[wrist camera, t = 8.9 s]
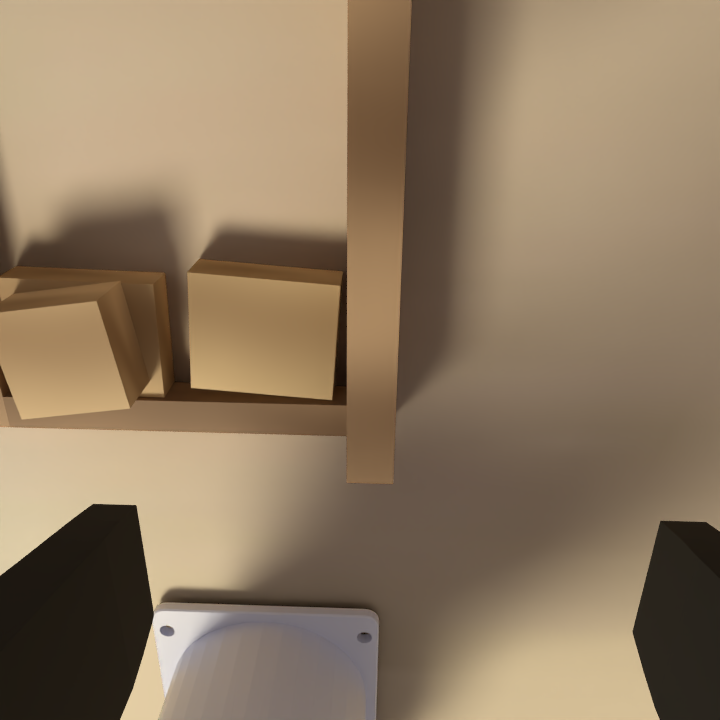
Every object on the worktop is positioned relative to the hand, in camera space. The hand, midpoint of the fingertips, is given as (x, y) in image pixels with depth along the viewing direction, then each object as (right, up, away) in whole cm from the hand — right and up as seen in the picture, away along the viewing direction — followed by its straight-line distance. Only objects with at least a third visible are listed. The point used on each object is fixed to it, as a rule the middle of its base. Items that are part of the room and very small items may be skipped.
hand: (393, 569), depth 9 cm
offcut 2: (-8, +4, +9) cm, 13 cm away
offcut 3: (-3, +4, +10) cm, 11 cm away
